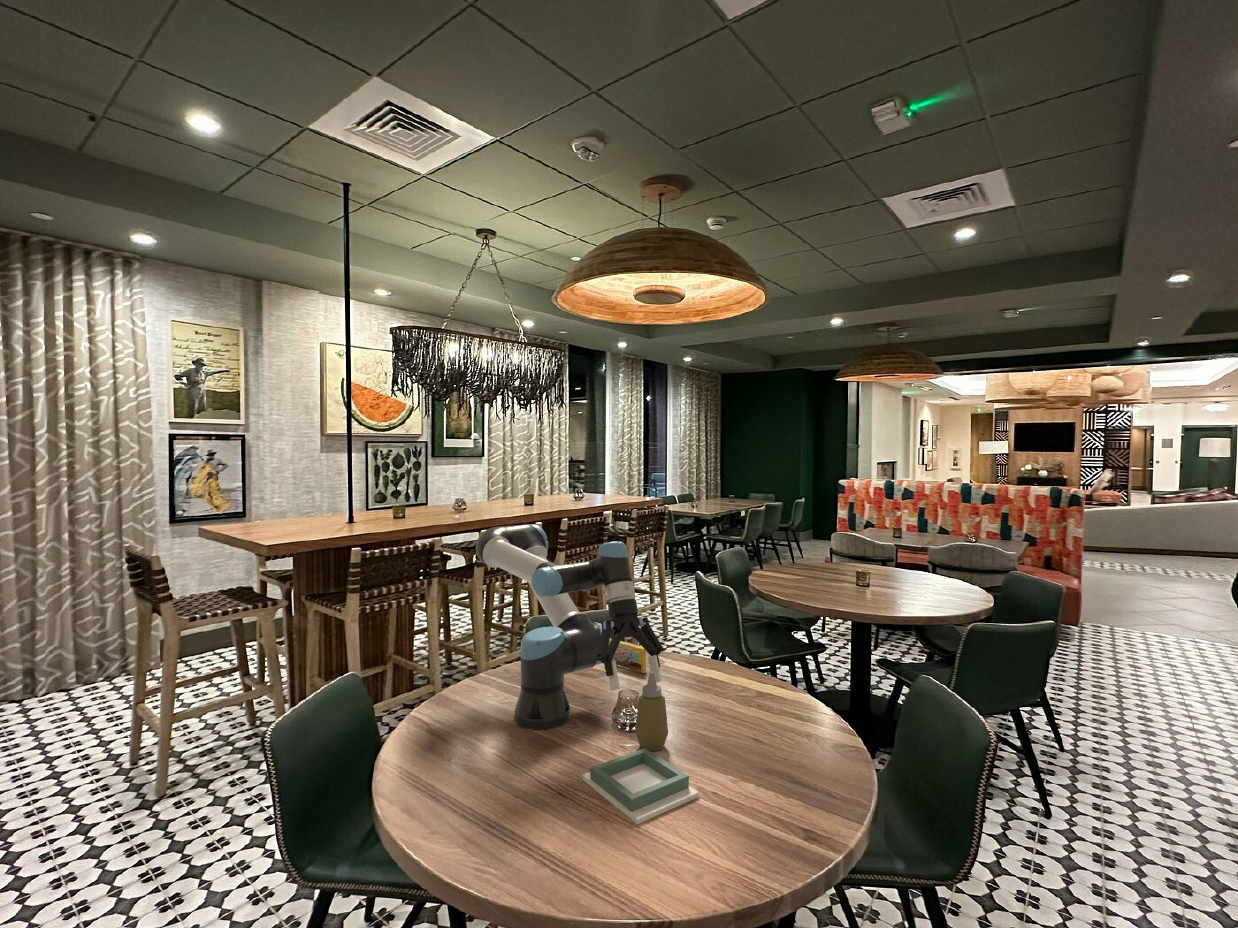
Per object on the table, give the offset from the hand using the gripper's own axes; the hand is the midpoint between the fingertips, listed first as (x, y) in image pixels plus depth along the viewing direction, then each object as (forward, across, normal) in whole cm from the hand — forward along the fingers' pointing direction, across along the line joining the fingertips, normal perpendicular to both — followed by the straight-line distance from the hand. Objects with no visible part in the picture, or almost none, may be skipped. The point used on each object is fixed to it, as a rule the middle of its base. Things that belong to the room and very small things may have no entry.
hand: (636, 686), depth 150 cm
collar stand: (+20, -12, -9) cm, 25 cm away
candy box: (-7, +33, +44) cm, 56 cm away
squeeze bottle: (+14, +3, +2) cm, 15 cm away
